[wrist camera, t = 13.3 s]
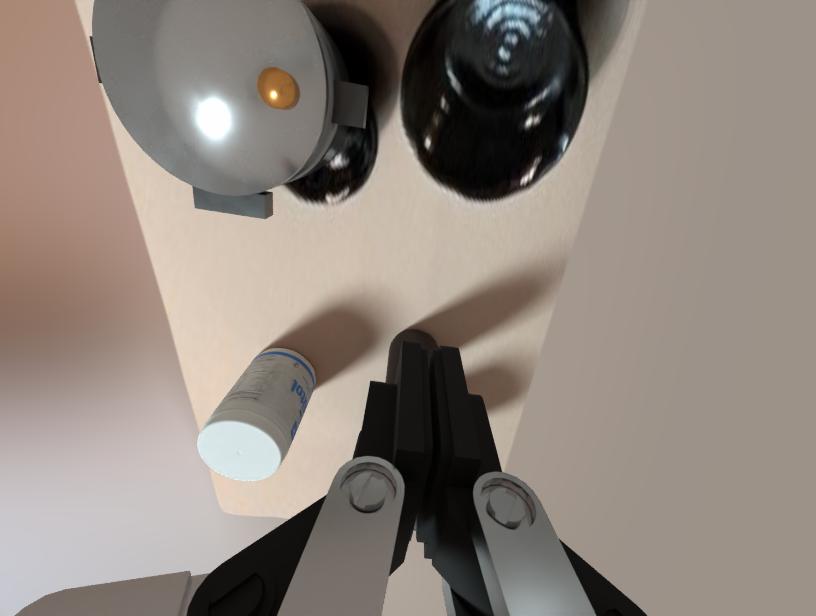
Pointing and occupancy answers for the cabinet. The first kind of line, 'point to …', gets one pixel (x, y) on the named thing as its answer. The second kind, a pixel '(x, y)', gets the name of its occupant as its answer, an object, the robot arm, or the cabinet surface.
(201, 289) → the cabinet surface
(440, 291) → the cabinet surface
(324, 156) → the pot
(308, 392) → the supplement tub
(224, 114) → the lid
